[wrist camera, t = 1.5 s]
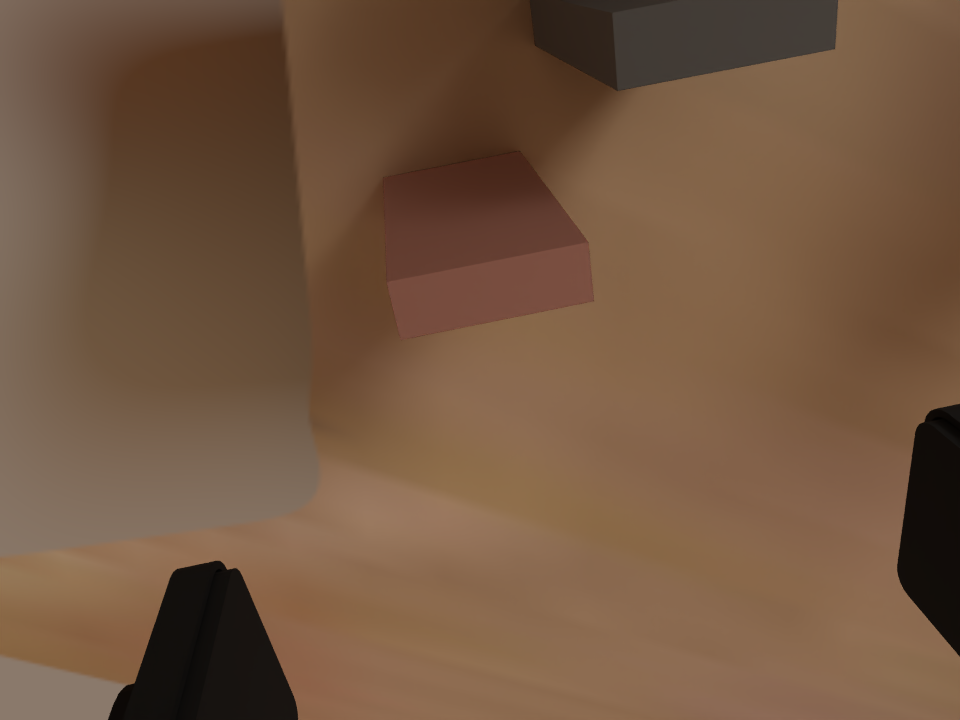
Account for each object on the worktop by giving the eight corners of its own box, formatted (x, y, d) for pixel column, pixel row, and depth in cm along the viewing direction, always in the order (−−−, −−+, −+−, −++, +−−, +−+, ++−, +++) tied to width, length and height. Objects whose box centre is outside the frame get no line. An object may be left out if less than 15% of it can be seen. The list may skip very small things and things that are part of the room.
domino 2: (529, -7, 25) (611, 12, 16) (677, -35, 25) (840, -31, 16) (535, 45, 26) (617, 90, 17) (678, 18, 26) (834, 48, 17)
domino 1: (383, 177, 27) (386, 281, 18) (519, 151, 27) (588, 242, 18) (392, 220, 28) (400, 340, 19) (525, 194, 28) (593, 300, 19)
